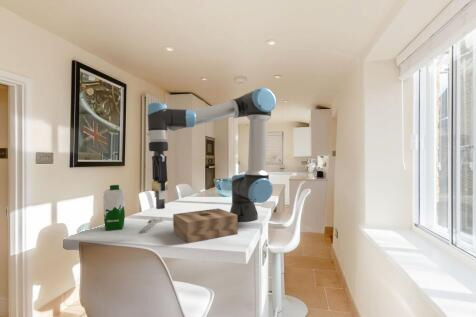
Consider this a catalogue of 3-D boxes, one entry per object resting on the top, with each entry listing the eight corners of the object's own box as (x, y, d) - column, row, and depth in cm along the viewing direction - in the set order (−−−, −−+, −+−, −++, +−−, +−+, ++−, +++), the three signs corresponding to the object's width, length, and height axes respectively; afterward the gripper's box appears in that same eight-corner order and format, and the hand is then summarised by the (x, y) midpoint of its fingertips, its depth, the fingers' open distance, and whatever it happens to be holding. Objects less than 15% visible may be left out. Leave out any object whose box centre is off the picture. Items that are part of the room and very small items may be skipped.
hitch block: (218, 225, 132) (218, 208, 132) (237, 233, 117) (237, 215, 117) (173, 232, 121) (173, 214, 121) (188, 243, 106) (187, 222, 106)
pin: (166, 206, 118) (165, 180, 118) (170, 208, 112) (169, 181, 112) (150, 207, 115) (149, 181, 114) (154, 210, 109) (153, 182, 109)
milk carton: (126, 225, 136) (125, 184, 136) (123, 229, 127) (122, 186, 127) (106, 226, 134) (105, 185, 133) (102, 231, 125) (101, 187, 125)
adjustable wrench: (145, 234, 121) (145, 230, 121) (131, 234, 121) (131, 230, 121) (164, 220, 146) (164, 217, 146) (152, 220, 146) (152, 217, 146)
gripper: (143, 142, 119) (145, 196, 120) (154, 140, 103) (157, 202, 103) (161, 142, 123) (162, 194, 124) (174, 140, 107) (176, 199, 107)
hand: (160, 197), depth 113 cm, fingers closed on pin, 6 cm apart
